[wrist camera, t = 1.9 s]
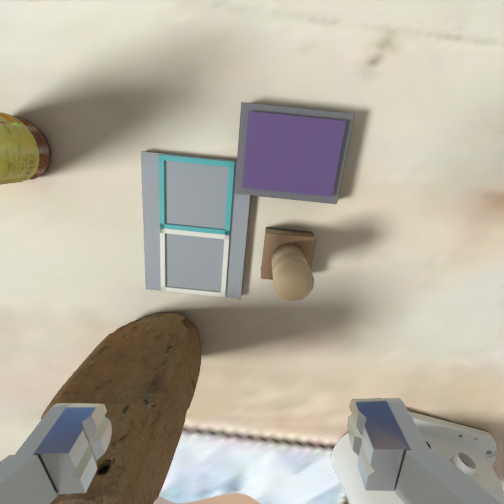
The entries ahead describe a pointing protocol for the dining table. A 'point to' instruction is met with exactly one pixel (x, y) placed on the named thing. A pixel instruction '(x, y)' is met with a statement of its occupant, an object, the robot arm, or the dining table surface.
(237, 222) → the board
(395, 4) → the dining table surface
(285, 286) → the stamp
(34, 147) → the sauce bottle
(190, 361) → the block
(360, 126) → the dining table surface
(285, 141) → the ink pad
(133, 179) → the dining table surface
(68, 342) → the dining table surface
